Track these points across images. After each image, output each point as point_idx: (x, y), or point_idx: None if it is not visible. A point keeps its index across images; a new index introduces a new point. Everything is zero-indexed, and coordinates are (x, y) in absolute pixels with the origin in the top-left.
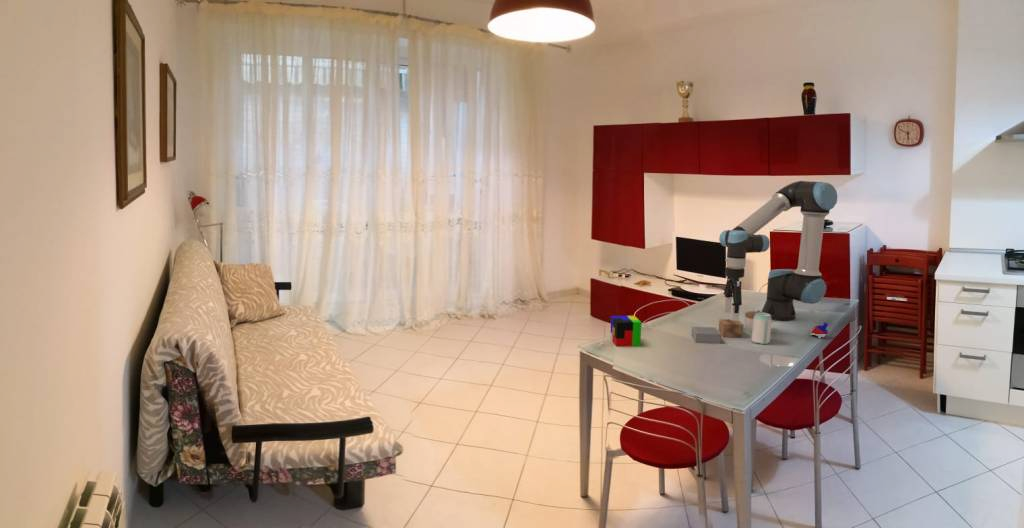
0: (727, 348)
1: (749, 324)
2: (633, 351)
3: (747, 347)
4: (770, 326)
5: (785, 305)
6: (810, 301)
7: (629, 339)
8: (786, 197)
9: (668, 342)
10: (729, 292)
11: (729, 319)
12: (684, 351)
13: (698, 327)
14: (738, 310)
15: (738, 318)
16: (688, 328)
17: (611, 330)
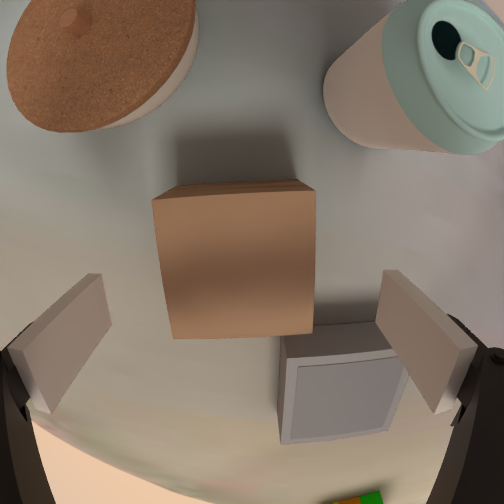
0: (456, 298)
1: (158, 106)
2: (412, 488)
3: (453, 205)
4: (451, 41)
5: None
6: None
7: None
8: None
9: (360, 459)
10: (29, 456)
11: (161, 270)
12: (447, 419)
13: (297, 426)
14: (468, 330)
15: (404, 279)
16: (161, 405)
17: None
